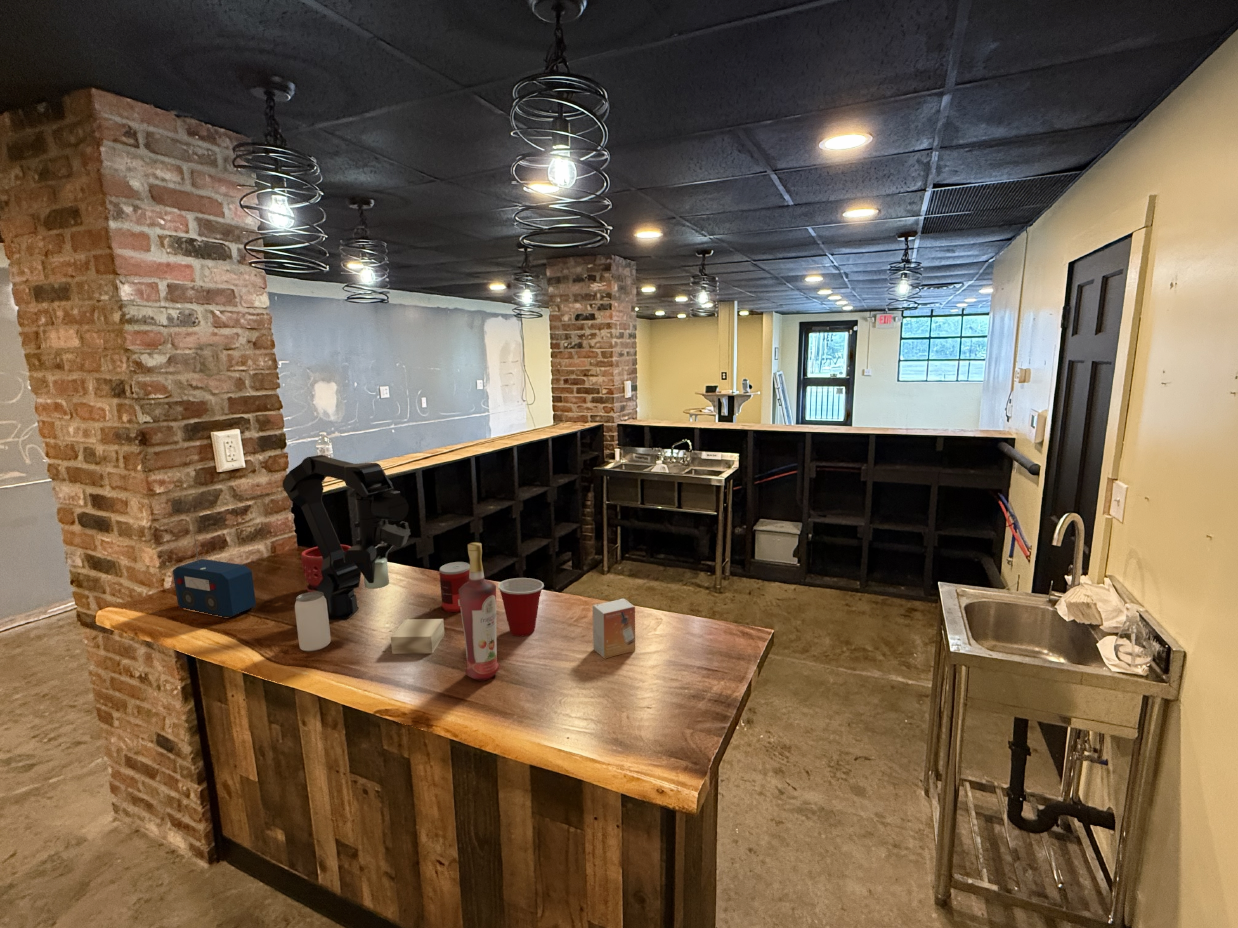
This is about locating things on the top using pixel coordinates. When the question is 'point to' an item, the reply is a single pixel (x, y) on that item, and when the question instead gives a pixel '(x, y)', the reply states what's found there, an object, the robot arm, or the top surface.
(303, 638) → the can
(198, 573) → the radio
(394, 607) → the top surface
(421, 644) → the beech block
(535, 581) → the plastic cup
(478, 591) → the liquor
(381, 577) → the grey-green rounded piece
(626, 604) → the small box
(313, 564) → the plant pot
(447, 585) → the canned food
